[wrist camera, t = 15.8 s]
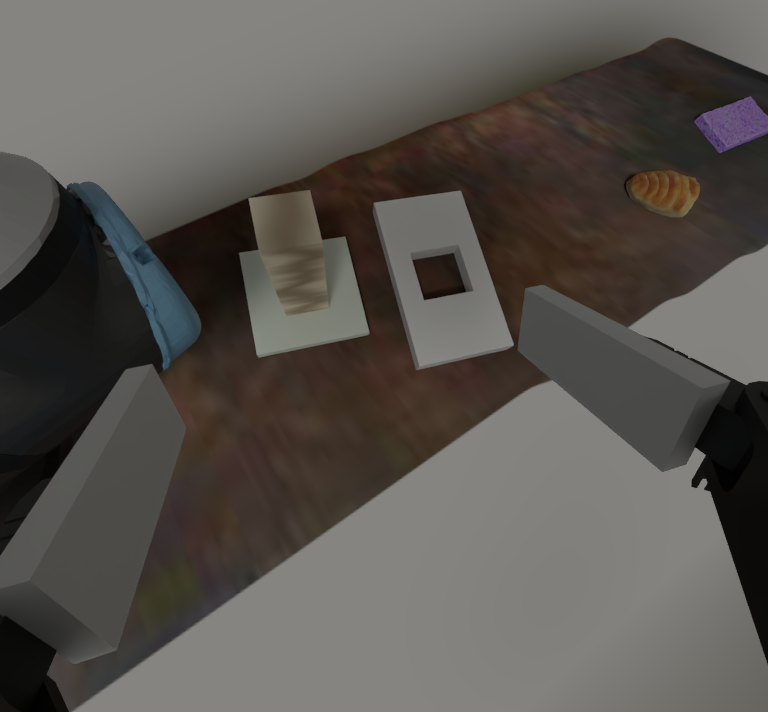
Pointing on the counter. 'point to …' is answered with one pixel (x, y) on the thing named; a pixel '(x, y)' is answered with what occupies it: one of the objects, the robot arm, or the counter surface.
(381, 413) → the counter surface
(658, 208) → the pastry
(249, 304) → the tile
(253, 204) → the peg
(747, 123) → the sponges
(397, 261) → the plate with hole
